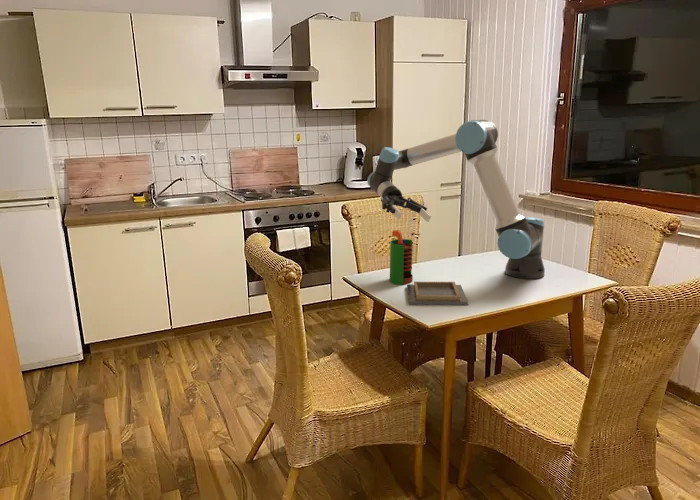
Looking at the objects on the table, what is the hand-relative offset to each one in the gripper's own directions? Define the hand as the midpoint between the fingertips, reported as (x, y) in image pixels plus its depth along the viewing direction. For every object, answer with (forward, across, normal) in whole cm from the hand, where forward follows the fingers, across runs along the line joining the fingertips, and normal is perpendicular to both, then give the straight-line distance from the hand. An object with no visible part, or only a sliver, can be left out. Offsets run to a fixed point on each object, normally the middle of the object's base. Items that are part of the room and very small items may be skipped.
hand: (414, 217), depth 201 cm
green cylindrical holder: (+6, 0, -25) cm, 26 cm away
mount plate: (+26, -2, -18) cm, 32 cm away
